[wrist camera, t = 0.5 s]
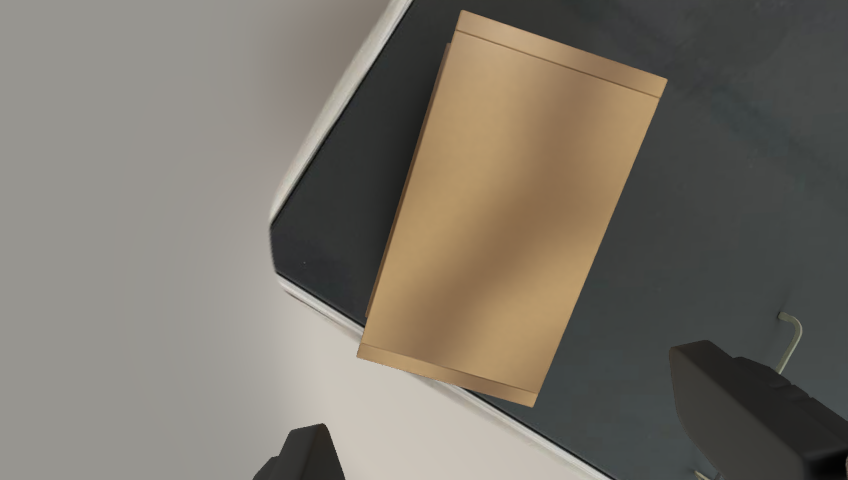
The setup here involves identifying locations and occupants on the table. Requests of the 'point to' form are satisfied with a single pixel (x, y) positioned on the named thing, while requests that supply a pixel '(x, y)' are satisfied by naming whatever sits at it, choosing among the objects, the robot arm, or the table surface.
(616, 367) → the table surface
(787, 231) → the table surface
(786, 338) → the table surface
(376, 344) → the wooden drawer chest
